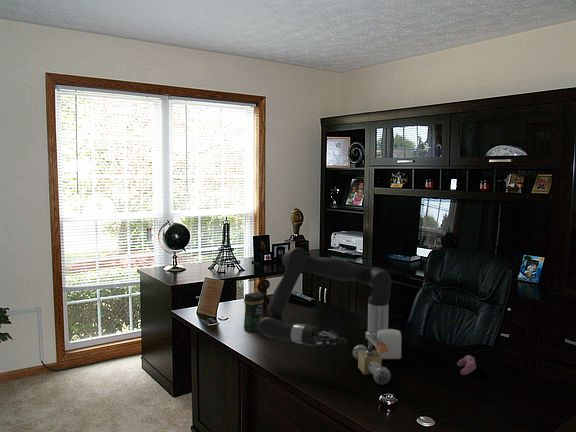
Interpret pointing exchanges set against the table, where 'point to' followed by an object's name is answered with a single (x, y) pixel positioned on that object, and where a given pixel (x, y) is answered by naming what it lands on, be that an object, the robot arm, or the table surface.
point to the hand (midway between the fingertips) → (345, 342)
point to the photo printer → (390, 343)
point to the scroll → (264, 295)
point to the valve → (371, 363)
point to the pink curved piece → (467, 364)
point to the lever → (376, 342)
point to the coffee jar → (253, 310)
